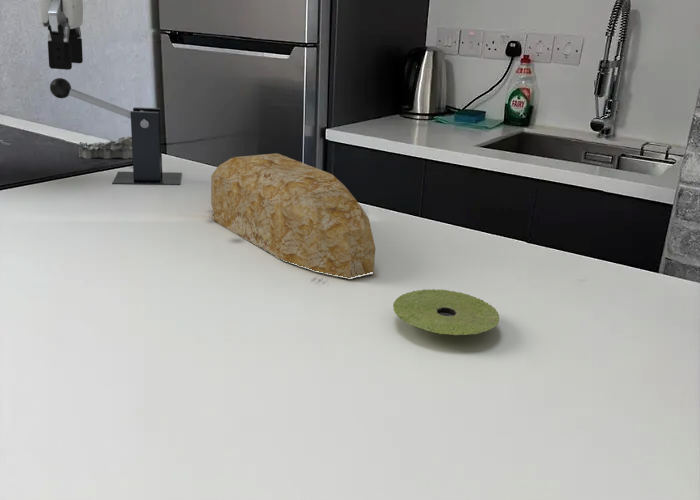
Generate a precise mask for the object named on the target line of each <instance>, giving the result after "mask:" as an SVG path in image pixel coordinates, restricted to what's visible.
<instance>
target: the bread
mask: <svg viewBox="0 0 700 500" xmlns="http://www.w3.org/2000/svg"><path fill="white" fill-rule="evenodd" d="M210 184H211V185H210V194H211V195H210V197H211V198H210V200H211V201H210V203H211V207H212V211H213V213H212V218H213V221H214V222H216V223H217V224H219V225H220V226H222V227H224V228H225V229H228V230H229V231H231V232H232V233H234V234H235V235H237V234H238V235H237V236H239V237H241V238H242V237H243V239H244V238H245V239H244V240H246V241H247V240H248V241H247V242H249V241H250V242H249V243H251V242H252V243H253V244H252V243H251V244H252V245H254V244H255V245H254V246H256V245H257V246H256V247H258V246H259V247H261V248H263V249H264V250H266V251H268V252H269V253H271V254H273V255H275V256H276V257H278V258H280V259H282V260H284V261H287V262H290V263H294V264H297V265H299V266H303V267H306V268H309V269H312V270H314V271H319V272H323V273H328V274H332V275H338V276H343V277H347V278H351V277H355V276H358V275H363V274H367V273H370V272H373V273H374V270H375V259H376V245H375V241H374V236H373V232H372V226H371V221H370V218H369V216H368V215H367V213H366V212H365V210H364V209H363V207H362V206H361V205H360V203H359V202H358V200H357V199H356V198H355V196H354V195H353V194H352V193H351V192H350V190H349V189H348V188H347V187H346V185H345V184H344V183H342V181H340V180H339V179H338V178H337V177H336V176H335V175H334V174H332V173H330V172H327V171H325V170H323V169H320V168H317V167H314V166H311V165H310V164H306V163H303V162H302V161H299V160H296V159H294V158H290V157H288V156H286V155H282V154H280V153H278V152H277V153H276V152H275V153H266V154H254V155H243V156H233V157H231V158H229V159H228V160H225V161H224V162H223V163H221V164H219V165H217V167H216V169H215V170H214V171H213V173H212V174H211V176H210ZM259 247H258V248H259ZM261 248H260V249H261ZM263 249H262V250H263ZM264 250H263V251H264ZM266 251H265V252H266ZM268 252H267V253H268ZM269 253H268V254H269ZM271 254H270V255H271ZM273 255H272V256H273ZM276 257H275V258H276ZM278 258H277V259H278Z"/></svg>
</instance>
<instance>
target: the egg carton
mask: <svg viewBox="0 0 700 500" xmlns="http://www.w3.org/2000/svg"><path fill="white" fill-rule="evenodd" d="M77 147H79V148H78V156H79V158H84V159H90V160H91V159H93V158H102V159H104V160H106V159H108V160H110V159H113V158H120V159H123V160H126V159H127V160H128V159H133V156H132V136H126V137H125V136H123V137H119V138H118V140H113V139H112V140H111V139H110V141H107V142H101V141H100V142H93V143H89V144H88V142H82V141H79V143H78V144H77Z"/></svg>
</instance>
